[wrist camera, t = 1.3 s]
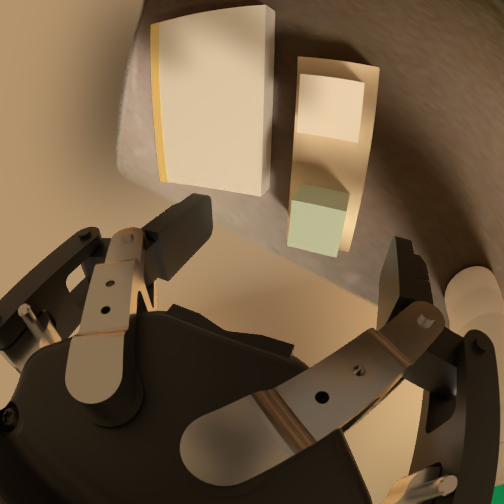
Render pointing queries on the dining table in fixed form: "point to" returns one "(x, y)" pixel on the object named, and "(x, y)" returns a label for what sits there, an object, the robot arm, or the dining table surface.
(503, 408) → the water bottle
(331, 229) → the block
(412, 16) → the dining table surface
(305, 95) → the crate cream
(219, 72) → the dock
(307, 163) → the pallet
